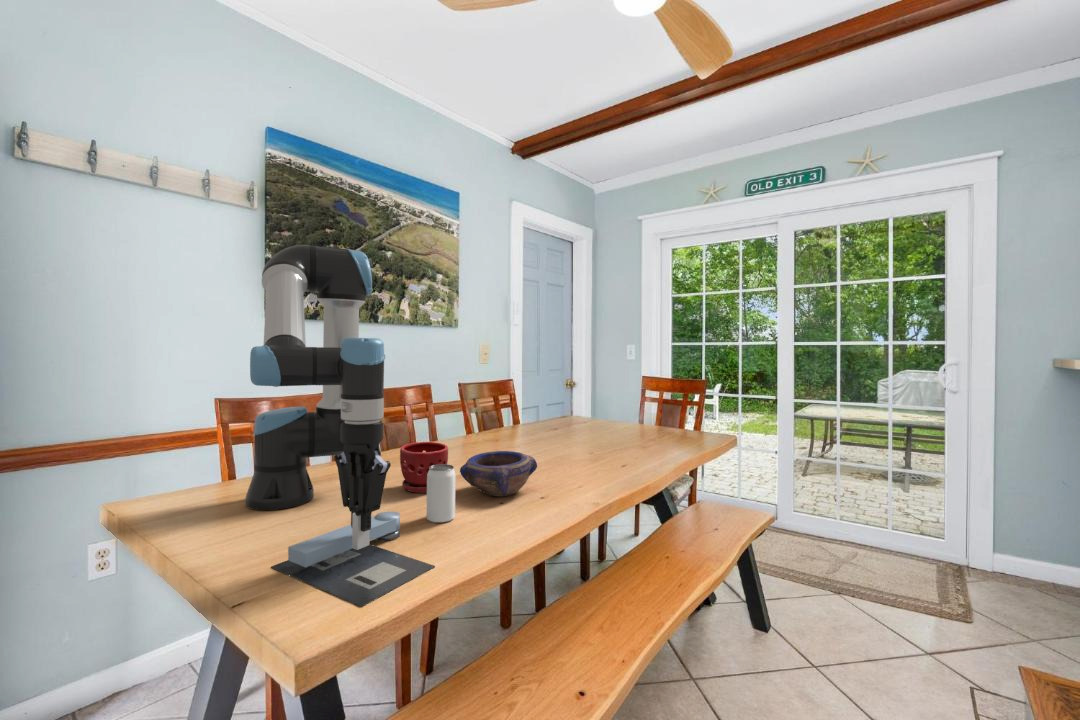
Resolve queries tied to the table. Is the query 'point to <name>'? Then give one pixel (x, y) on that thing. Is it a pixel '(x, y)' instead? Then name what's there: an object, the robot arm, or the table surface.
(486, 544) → the table surface
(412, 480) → the plant pot
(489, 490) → the bowl
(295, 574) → the label panel
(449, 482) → the can
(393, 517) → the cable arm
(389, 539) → the arm pivot
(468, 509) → the table surface
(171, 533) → the table surface
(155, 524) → the table surface
